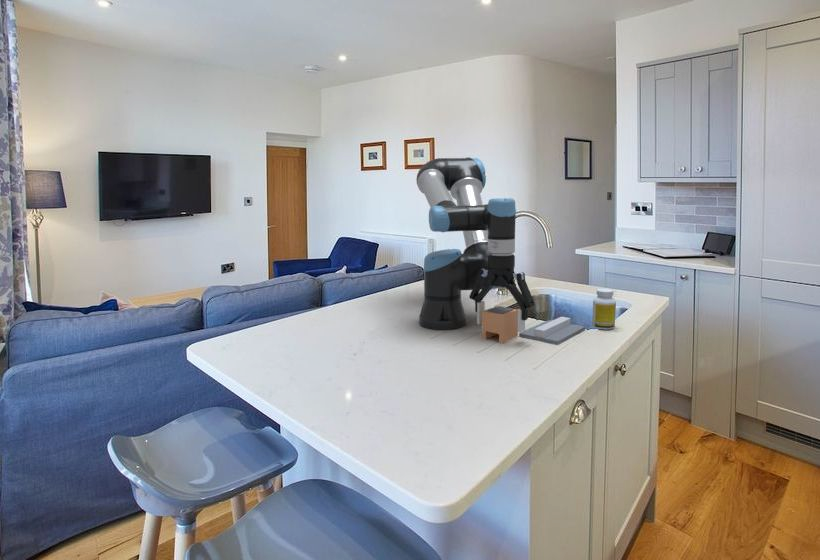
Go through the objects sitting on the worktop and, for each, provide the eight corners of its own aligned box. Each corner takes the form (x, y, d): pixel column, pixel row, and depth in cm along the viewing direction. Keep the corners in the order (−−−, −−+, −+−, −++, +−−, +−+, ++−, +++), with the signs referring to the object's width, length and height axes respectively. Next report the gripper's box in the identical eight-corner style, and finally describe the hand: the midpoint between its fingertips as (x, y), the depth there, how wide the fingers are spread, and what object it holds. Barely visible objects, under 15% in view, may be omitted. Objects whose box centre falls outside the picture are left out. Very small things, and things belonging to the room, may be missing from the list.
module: (481, 338, 145) (482, 310, 144) (497, 331, 151) (497, 305, 149) (502, 343, 140) (503, 314, 139) (517, 336, 146) (518, 308, 145)
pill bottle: (616, 330, 150) (618, 292, 147) (593, 330, 151) (595, 292, 149) (612, 324, 156) (614, 288, 154) (590, 324, 157) (592, 287, 155)
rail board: (519, 336, 146) (519, 326, 145) (548, 323, 159) (548, 313, 158) (557, 344, 138) (558, 334, 137) (585, 329, 151) (585, 320, 150)
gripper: (457, 252, 147) (457, 322, 150) (534, 258, 130) (533, 337, 134) (472, 249, 152) (472, 317, 156) (548, 255, 135) (546, 331, 139)
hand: (500, 327), depth 145 cm, fingers open, 13 cm apart
